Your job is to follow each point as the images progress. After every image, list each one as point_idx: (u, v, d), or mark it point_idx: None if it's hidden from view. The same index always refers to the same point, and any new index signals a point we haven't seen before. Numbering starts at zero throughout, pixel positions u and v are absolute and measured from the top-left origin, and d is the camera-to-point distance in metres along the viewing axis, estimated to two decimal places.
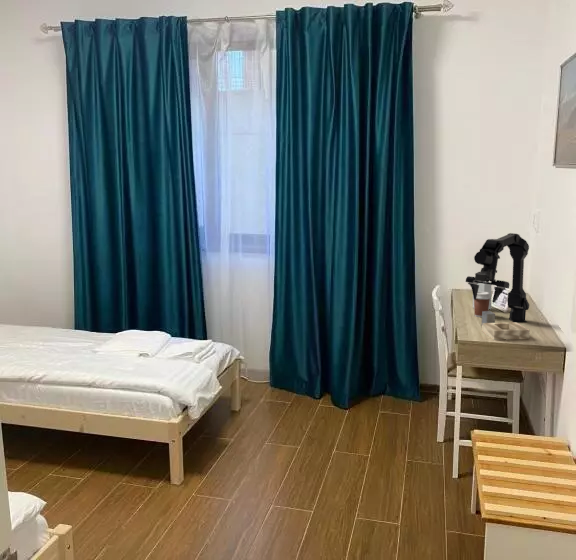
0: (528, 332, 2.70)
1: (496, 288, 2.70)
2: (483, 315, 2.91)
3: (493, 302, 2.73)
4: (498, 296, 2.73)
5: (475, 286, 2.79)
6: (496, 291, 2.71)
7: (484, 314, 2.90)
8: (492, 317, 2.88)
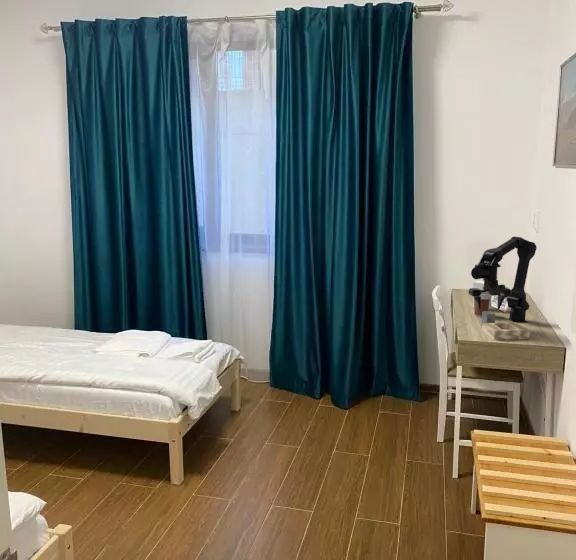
0: (528, 332, 2.70)
1: (504, 297, 2.87)
2: (483, 315, 2.91)
3: None
4: None
5: None
6: (502, 299, 2.88)
7: (484, 314, 2.90)
8: (492, 317, 2.88)
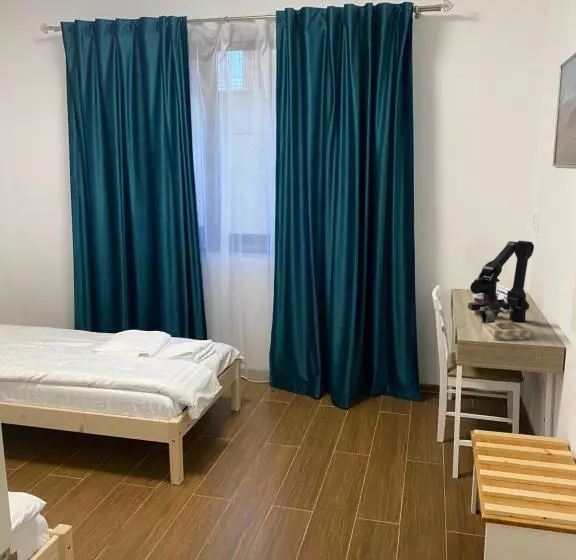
0: (528, 332, 2.70)
1: (498, 311, 2.88)
2: None
3: None
4: None
5: None
6: (496, 313, 2.89)
7: None
8: (492, 317, 2.88)
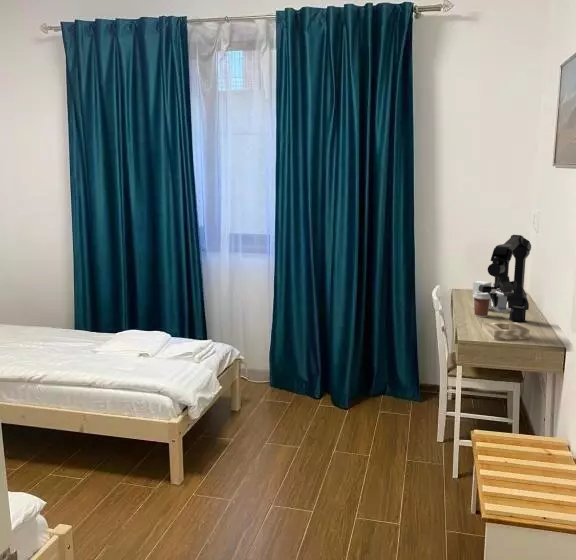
0: (528, 332, 2.70)
1: (510, 294, 2.76)
2: None
3: None
4: None
5: None
6: (508, 296, 2.77)
7: None
8: (504, 300, 2.76)
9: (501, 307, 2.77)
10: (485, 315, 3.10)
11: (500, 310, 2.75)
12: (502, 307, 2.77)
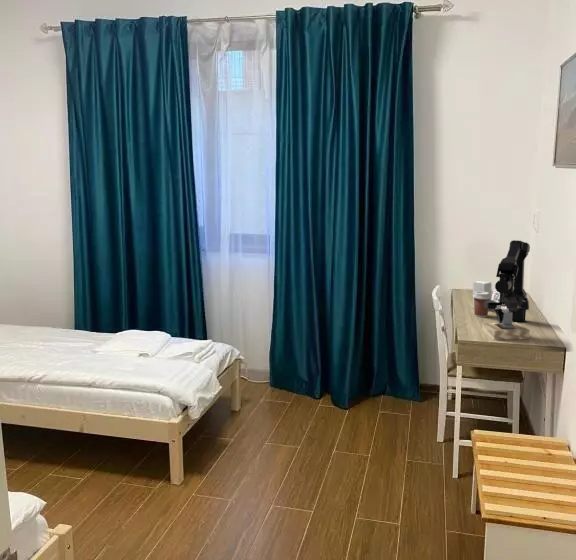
0: (528, 332, 2.70)
1: (515, 310, 2.73)
2: None
3: None
4: None
5: None
6: (514, 312, 2.75)
7: (501, 313, 2.76)
8: (509, 316, 2.73)
9: (507, 323, 2.74)
10: (485, 315, 3.10)
11: (506, 326, 2.72)
12: (507, 323, 2.74)
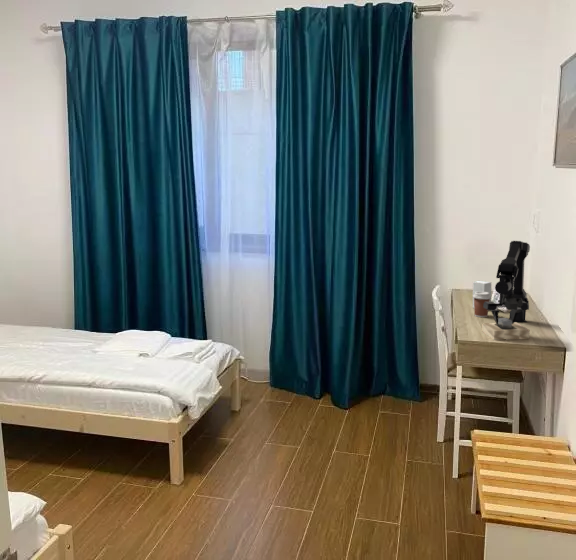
0: (528, 332, 2.70)
1: (518, 311, 2.74)
2: (499, 322, 2.78)
3: None
4: None
5: None
6: (517, 313, 2.75)
7: (500, 321, 2.77)
8: (508, 324, 2.74)
9: None
10: (485, 315, 3.10)
11: None
12: None
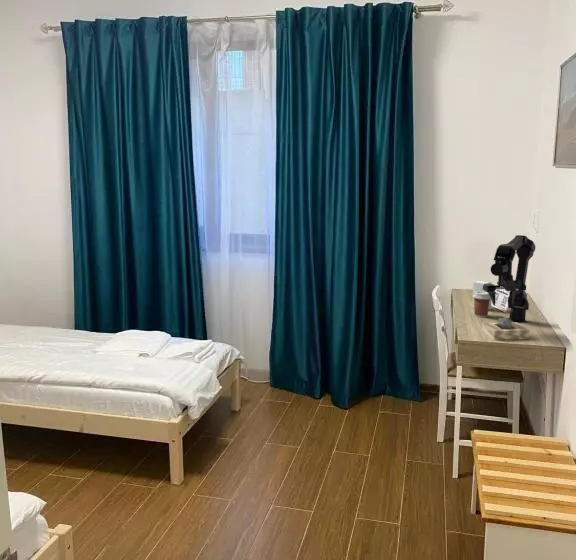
0: (528, 332, 2.70)
1: (519, 292, 2.82)
2: (499, 322, 2.78)
3: (513, 304, 2.86)
4: None
5: None
6: (517, 294, 2.84)
7: (500, 321, 2.77)
8: (508, 324, 2.74)
9: None
10: (485, 315, 3.10)
11: None
12: None
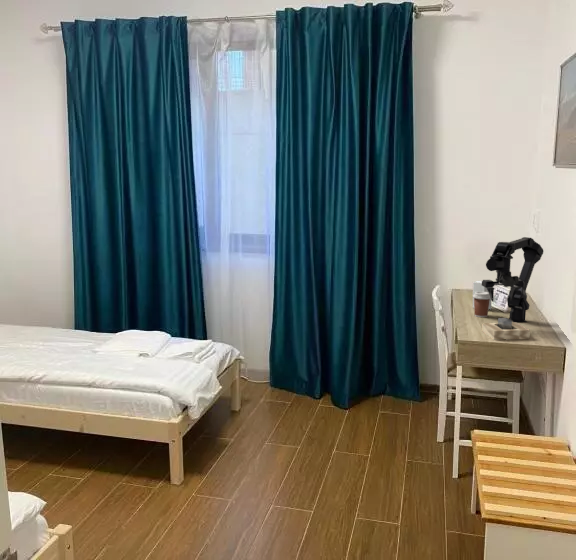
0: (528, 332, 2.70)
1: (517, 288, 2.88)
2: (499, 322, 2.78)
3: (512, 300, 2.91)
4: None
5: None
6: (515, 291, 2.90)
7: (500, 321, 2.77)
8: (508, 324, 2.74)
9: None
10: (485, 315, 3.10)
11: None
12: None
